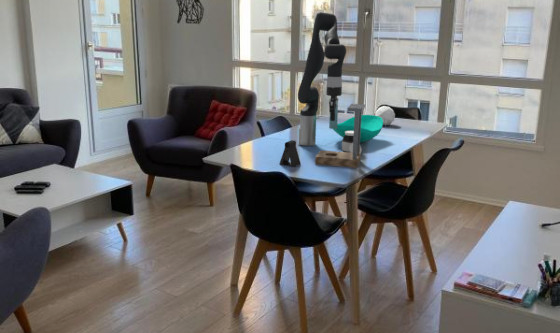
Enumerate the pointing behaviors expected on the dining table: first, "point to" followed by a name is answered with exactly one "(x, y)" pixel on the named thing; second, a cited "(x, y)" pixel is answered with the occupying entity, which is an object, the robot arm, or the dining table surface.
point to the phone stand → (290, 155)
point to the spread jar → (348, 142)
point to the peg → (333, 123)
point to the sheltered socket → (345, 157)
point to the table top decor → (362, 127)
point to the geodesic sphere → (386, 115)
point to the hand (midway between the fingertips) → (333, 119)
